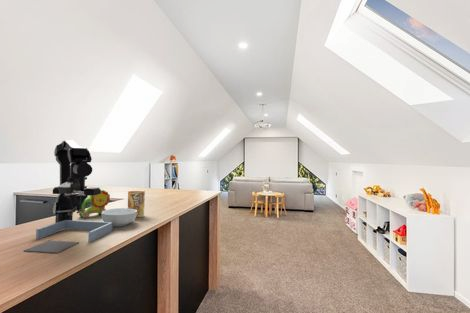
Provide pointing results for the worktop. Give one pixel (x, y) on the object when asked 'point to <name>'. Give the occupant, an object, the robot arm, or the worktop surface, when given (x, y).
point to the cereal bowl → (119, 216)
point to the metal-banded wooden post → (74, 210)
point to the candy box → (136, 201)
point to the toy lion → (95, 204)
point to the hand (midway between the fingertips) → (76, 210)
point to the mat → (51, 246)
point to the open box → (96, 227)
